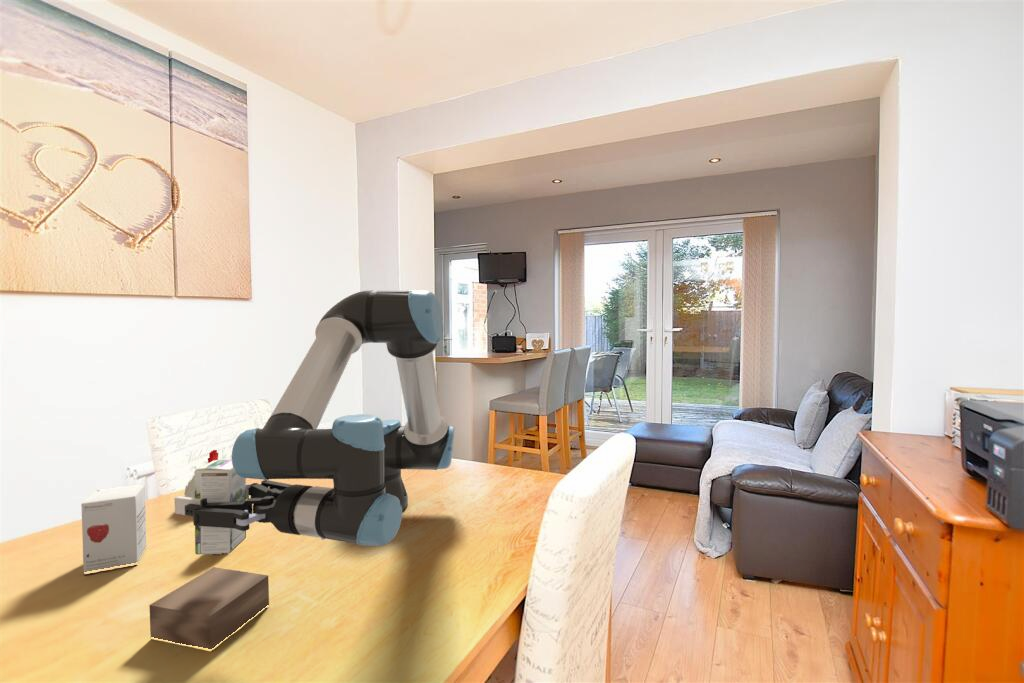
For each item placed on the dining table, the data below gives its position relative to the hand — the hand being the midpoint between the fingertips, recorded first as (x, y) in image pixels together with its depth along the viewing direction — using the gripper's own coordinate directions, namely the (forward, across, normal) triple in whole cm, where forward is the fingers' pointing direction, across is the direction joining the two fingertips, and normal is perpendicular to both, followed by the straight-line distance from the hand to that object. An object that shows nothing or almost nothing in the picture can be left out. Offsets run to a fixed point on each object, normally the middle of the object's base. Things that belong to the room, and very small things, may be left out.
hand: (198, 496), depth 82 cm
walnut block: (-5, -2, -21) cm, 21 cm away
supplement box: (+33, +8, -21) cm, 40 cm away
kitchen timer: (+41, +39, -21) cm, 60 cm away
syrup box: (-5, 0, -8) cm, 10 cm away
